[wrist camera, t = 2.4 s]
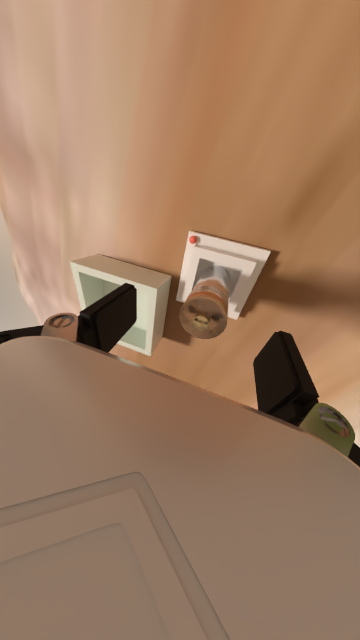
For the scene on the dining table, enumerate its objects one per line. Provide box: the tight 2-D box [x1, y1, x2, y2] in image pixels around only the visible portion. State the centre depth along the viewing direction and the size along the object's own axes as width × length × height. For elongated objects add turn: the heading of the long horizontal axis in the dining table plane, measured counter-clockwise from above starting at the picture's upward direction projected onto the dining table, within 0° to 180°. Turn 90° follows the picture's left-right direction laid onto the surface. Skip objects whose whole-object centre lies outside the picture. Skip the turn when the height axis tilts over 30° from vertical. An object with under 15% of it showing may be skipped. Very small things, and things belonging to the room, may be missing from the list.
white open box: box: [70, 254, 172, 356], centre depth 24 cm, size 12×12×5 cm
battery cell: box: [179, 265, 230, 339], centre depth 15 cm, size 4×4×10 cm
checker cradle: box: [176, 231, 271, 320], centre depth 19 cm, size 9×9×2 cm
